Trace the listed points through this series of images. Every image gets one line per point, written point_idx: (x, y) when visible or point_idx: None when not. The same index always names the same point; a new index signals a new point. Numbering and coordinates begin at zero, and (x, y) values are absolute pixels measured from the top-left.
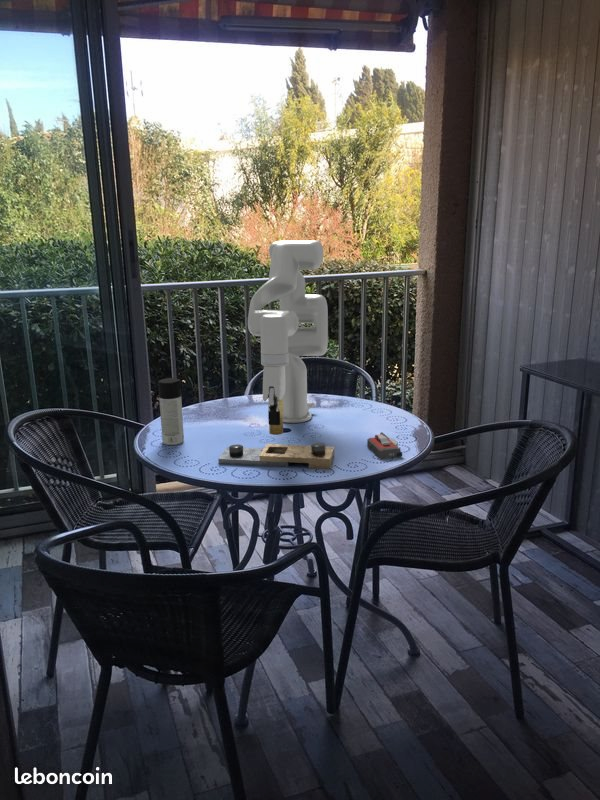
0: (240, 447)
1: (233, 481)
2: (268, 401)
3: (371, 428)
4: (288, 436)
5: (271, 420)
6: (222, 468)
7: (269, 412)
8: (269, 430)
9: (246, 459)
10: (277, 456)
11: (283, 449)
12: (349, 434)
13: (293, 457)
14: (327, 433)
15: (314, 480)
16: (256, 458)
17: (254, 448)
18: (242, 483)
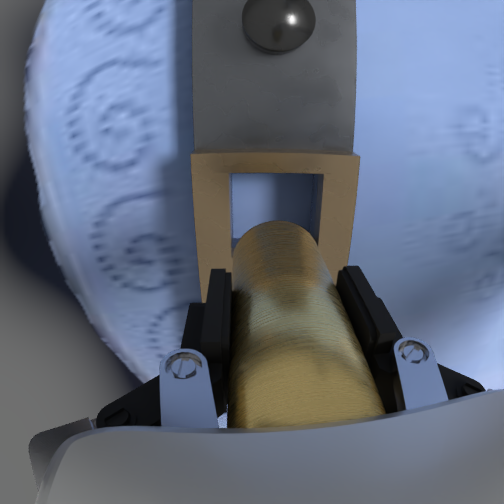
0: (272, 39)
1: (44, 103)
2: (295, 401)
3: (486, 382)
4: (500, 207)
5: (188, 313)
6: (148, 11)
7: (203, 341)
8: (255, 235)
9: (200, 87)
10: (197, 234)
11: (317, 233)
12: (470, 357)
13: (201, 294)
14: (493, 311)
15: (124, 336)
16: (220, 128)
17: (350, 95)
18: (37, 139)
